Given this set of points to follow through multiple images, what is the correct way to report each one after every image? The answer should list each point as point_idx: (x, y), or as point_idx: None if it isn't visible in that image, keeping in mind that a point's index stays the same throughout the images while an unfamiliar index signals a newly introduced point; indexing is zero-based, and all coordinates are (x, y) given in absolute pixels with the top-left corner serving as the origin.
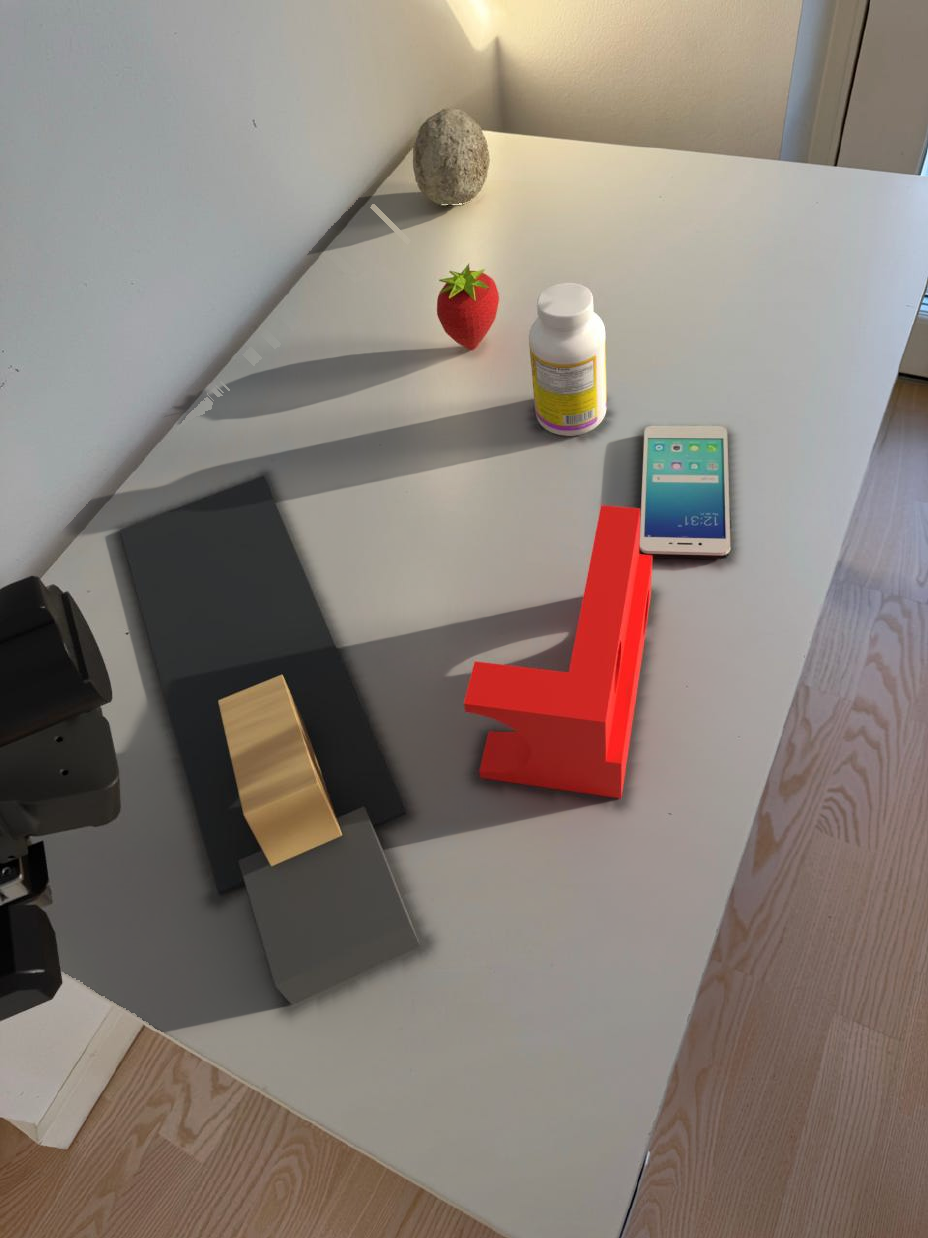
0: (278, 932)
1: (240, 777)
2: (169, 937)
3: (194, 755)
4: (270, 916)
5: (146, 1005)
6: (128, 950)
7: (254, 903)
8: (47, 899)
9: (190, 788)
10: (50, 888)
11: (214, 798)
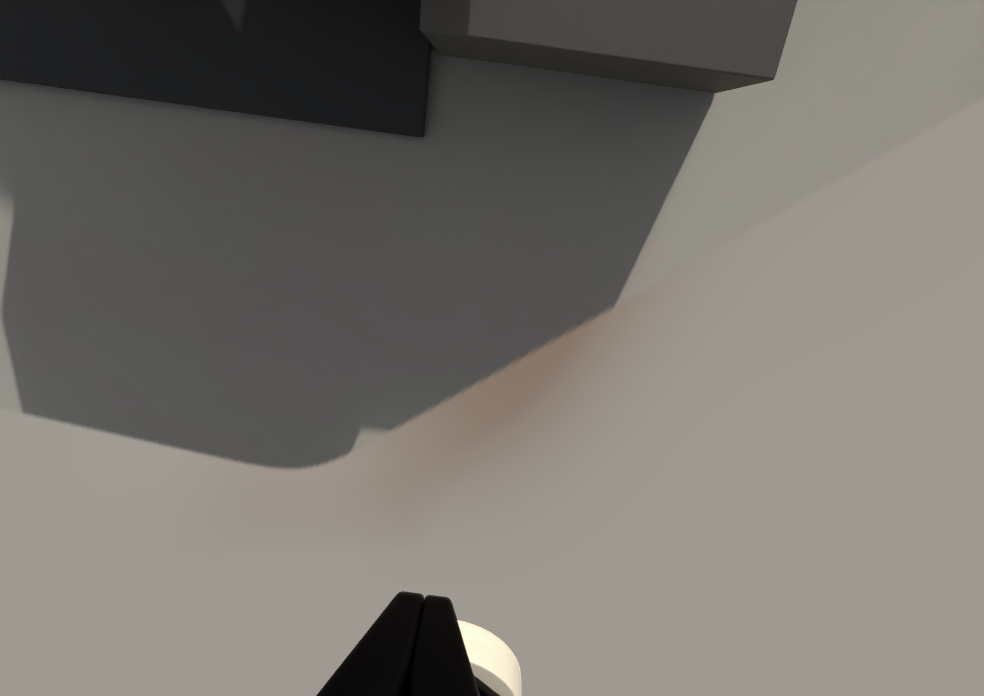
0: (661, 9)
1: None
2: (453, 259)
3: (67, 55)
4: (612, 10)
5: (545, 334)
6: (437, 330)
7: (553, 37)
8: (467, 660)
9: (152, 98)
10: (396, 599)
11: (199, 54)
